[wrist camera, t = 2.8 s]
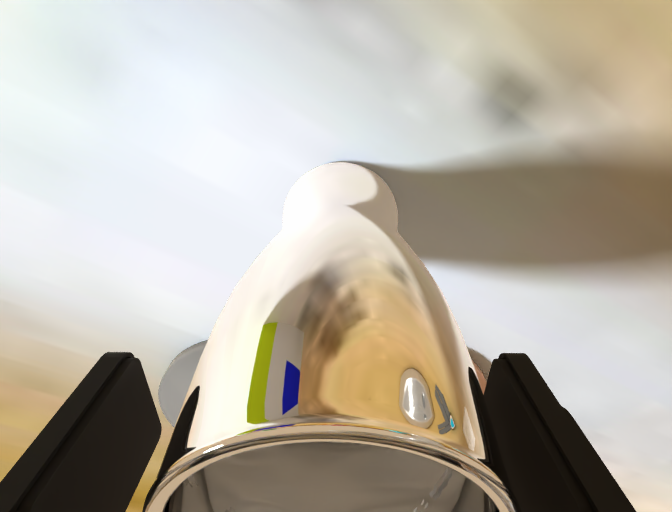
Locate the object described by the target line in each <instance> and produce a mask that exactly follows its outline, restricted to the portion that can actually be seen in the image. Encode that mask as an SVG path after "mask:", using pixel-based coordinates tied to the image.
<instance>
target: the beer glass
mask: <svg viewBox="0 0 672 512" xmlns="http://www.w3.org/2000/svg"><path fill="white" fill-rule="evenodd" d="M397 229H398V210H397V205H396V201H395V198H394V196H393V193H392V192H391V190H390V188H389V187H388V185H387V184H386V183H385V181H384V180H383V179H382V178H381V177H379V176H378V175H377V174H376V173H374V172H373V171H371V170H369V169H367V168H365V167H363V166H360V165H357V164H353V163H347V162H334V163H328V164H324V165H320V166H318V167H315V168H313V169H311V170H310V171H308V172H306V173H305V174H304V175H302V176H301V177H300V178H299V179H298V180H297V181H296V182H295V184H294V185H293V186H292V188H291V189H290V191H289V193H288V195H287V197H286V200H285V204H284V208H283V229H282V230H281V231H280V232H279V233H278V234H277V235H276V236H275V238H274V239H273V240H272V241H271V242H270V243H269V244H268V245H267V246H266V247H265V249H264V250H263V251H262V252H261V253H260V254H259V255H258V256H257V258H256V259H255V260H254V262H253V263H252V264H251V266H250V267H249V268H248V270H247V271H246V272H245V274H244V275H243V276H242V278H241V279H240V280H239V282H238V283H237V285H236V286H235V288H234V289H233V291H232V293H231V295H230V297H229V299H228V300H227V302H226V304H225V306H224V308H223V310H222V312H221V313H220V315H219V317H218V319H217V321H216V323H215V325H214V327H213V330H212V332H211V334H210V336H209V339H208V341H207V343H206V346H205V348H204V350H203V353H202V355H201V357H200V360H199V362H198V364H197V367H196V370H195V372H194V375H193V378H192V380H191V383H190V386H189V388H188V391H187V394H186V396H185V399H184V402H183V404H182V407H181V410H180V413H179V416H178V419H177V422H176V425H175V428H174V430H173V433H172V436H171V439H170V442H169V445H168V448H167V450H166V453H165V456H164V458H163V461H162V464H161V467H160V469H159V472H158V474H157V477H156V479H155V482H154V484H153V485H152V487H151V489H150V490H149V492H148V494H147V497H146V499H145V502H144V506H143V511H142V512H522V511H521V508H520V505H519V503H518V501H517V499H516V497H515V495H514V493H513V490H512V487H511V484H510V482H509V479H508V475H507V472H506V469H505V466H504V462H503V459H502V456H501V453H500V449H499V446H498V442H497V439H496V435H495V432H494V428H493V425H492V421H491V418H490V415H489V412H488V408H487V405H486V402H485V399H484V396H483V392H482V389H481V386H480V383H479V380H478V376H477V373H476V370H475V368H474V365H473V362H472V360H471V357H470V354H469V352H468V349H467V346H466V344H465V341H464V338H463V336H462V333H461V330H460V328H459V326H458V324H457V322H456V320H455V317H454V315H453V313H452V311H451V309H450V307H449V305H448V303H447V301H446V299H445V297H444V295H443V293H442V291H441V289H440V288H439V286H438V285H437V283H436V282H435V280H434V279H433V277H432V276H431V274H430V273H429V271H428V270H427V268H426V267H425V265H424V264H423V262H422V261H421V260H420V258H419V257H418V256H417V255H416V253H415V252H414V251H413V250H412V248H411V247H410V246H409V245H408V244H407V242H406V241H405V240H404V239H403V238H402V236H401V235H400V234H399V233H398V232H397Z"/></svg>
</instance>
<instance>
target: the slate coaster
mask: <svg viewBox="0 0 672 512" xmlns="http://www.w3.org/2000/svg"><path fill="white" fill-rule="evenodd" d="M206 343H207V341H204V342H200V343H198V344H195V345H193V346H191V347H189V348H187V349H185V350H184V351H182V352H181V353H180V354H179V355H177V356H176V358H175V359H174V360H173V361H172V362H171V364H170V366H169V367H168V369H167V371H166V372H165V374H164V376H163V378H162V380H161V383H160V385H159V392H158V395H159V403H160V407H161V409H162V411H163V414H164V415H165V417H166V418H167V420H168V421H169V422H170V424H171V425H172V426H173V427H174V428H175V425H176V422H177V419H178V416H179V413H180V410H181V407H182V404H183V402H184V399H185V396H186V394H187V391H188V388H189V386H190V383H191V380H192V378H193V375H194V372H195V370H196V367H197V364H198V362H199V360H200V357H201V355H202V353H203V350H204V348H205V346H206Z"/></svg>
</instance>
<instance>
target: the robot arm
mask: <svg viewBox="0 0 672 512" xmlns="http://www.w3.org/2000/svg"><path fill="white" fill-rule="evenodd" d="M483 396H484V399H485V402H486V405H487V408H488V412H489V415H490V418H491V421H492V425H493V428H494V432H495V435H496V439H497V442H498V446H499V449H500V453H501V456H502V459H503V462H504V466H505V469H506V472H507V475H508V479H509V482H510V484H511V487H512V490H513V493H514V495H515V497H516V499H517V501H518V503H519V505H520V508H521V511H522V512H636V511H635V509H634V508H633V506H632V505H631V503H630V502H629V500H628V499H627V497H626V496H625V494H624V493H623V491H622V490H621V488H620V487H619V485H618V484H617V482H616V481H615V479H614V478H613V476H612V475H611V473H610V472H609V470H608V469H607V467H606V466H605V464H604V463H603V461H602V460H601V458H600V457H599V455H598V454H597V452H596V451H595V450H594V448H593V447H592V445H591V444H590V442H589V441H588V439H587V438H586V436H585V435H584V433H583V432H582V430H581V429H580V427H579V426H578V424H577V423H576V421H575V420H574V418H573V417H572V415H571V414H570V413H569V412H568V411H567V410H566V409H565V408H563V407H562V406H561V405H560V404H559V402H558V401H557V399H556V398H555V396H554V395H553V393H552V392H551V390H550V389H549V387H548V386H547V384H546V383H545V381H544V380H543V378H542V376H541V375H540V373H539V372H538V370H537V369H536V367H535V366H534V364H533V363H532V361H531V360H530V358H529V357H528V356H527V355H526V354H524V353H502V354H500V356H499V358H498V359H494V360H493V362H492V365H491V369H490V373H489V376H488V380H487V384H486V387H485V391H484V395H483ZM160 435H161V423H160V420H159V417H158V414H157V411H156V408H155V405H154V402H153V399H152V396H151V392H150V389H149V386H148V383H147V380H146V377H145V374H144V371H143V368H142V365H141V362H140V360H139V359H138V358H135V357H134V355H133V354H132V353H130V352H107V353H105V354H104V355H103V356H102V357H101V358H100V359H99V360H98V362H97V363H96V364H95V365H94V367H93V368H92V369H91V370H90V372H89V373H88V374H87V375H86V377H85V378H84V379H83V380H82V382H81V383H80V384H79V385H78V387H77V388H76V389H75V390H74V392H73V393H72V394H71V395H70V397H69V398H68V399H67V400H66V401H65V403H64V404H63V405H62V406H61V408H60V409H59V410H58V411H57V413H56V414H55V415H54V416H53V418H52V419H51V420H50V421H49V423H48V424H47V425H46V426H45V428H44V429H43V430H42V431H41V433H40V434H39V435H38V436H37V438H36V439H35V440H34V441H33V443H32V444H31V445H30V446H29V448H28V449H27V450H26V451H25V453H24V454H23V455H22V456H21V457H20V459H19V460H18V461H17V462H16V464H15V465H14V466H13V467H12V469H11V470H10V471H9V472H8V474H7V475H6V476H5V477H4V479H3V480H2V481H1V482H0V512H125V511H126V509H127V507H128V505H129V503H130V501H131V498H132V496H133V494H134V492H135V490H136V488H137V486H138V484H139V482H140V479H141V477H142V475H143V473H144V471H145V469H146V467H147V465H148V462H149V460H150V458H151V456H152V454H153V452H154V450H155V448H156V445H157V443H158V441H159V439H160Z"/></svg>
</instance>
